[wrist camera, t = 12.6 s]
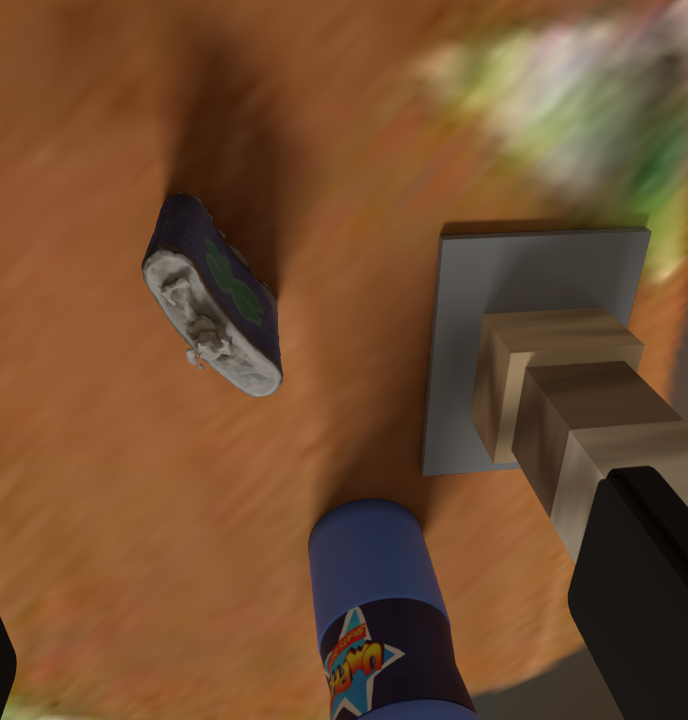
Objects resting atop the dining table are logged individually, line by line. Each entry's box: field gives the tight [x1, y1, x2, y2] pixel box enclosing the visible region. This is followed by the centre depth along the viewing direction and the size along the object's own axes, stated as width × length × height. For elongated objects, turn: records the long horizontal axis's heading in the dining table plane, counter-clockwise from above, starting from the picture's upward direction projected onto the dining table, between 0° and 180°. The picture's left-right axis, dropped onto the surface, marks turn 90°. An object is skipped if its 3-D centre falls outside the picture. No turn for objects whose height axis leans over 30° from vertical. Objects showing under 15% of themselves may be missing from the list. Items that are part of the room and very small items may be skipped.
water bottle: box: [308, 499, 482, 720], centre depth 39 cm, size 9×9×25 cm
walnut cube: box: [511, 361, 683, 518], centre depth 35 cm, size 6×6×6 cm
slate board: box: [420, 227, 652, 476], centre depth 42 cm, size 18×13×1 cm
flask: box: [142, 190, 283, 397], centre depth 32 cm, size 9×3×11 cm, turn 32°
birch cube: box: [550, 420, 688, 565], centre depth 30 cm, size 6×6×6 cm
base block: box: [470, 307, 644, 464], centre depth 40 cm, size 8×8×5 cm
